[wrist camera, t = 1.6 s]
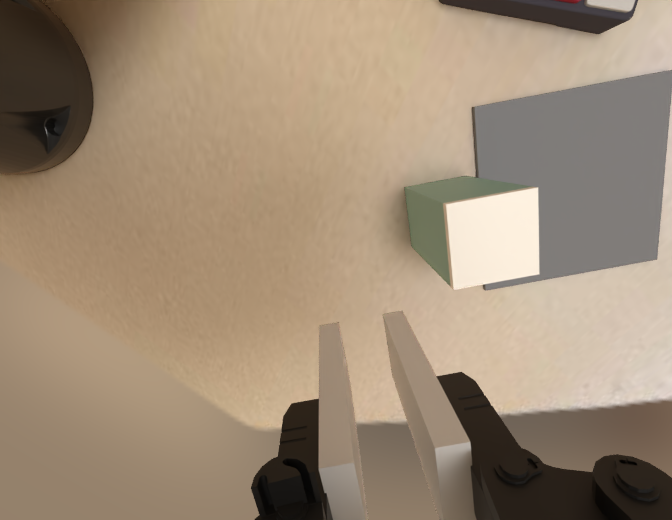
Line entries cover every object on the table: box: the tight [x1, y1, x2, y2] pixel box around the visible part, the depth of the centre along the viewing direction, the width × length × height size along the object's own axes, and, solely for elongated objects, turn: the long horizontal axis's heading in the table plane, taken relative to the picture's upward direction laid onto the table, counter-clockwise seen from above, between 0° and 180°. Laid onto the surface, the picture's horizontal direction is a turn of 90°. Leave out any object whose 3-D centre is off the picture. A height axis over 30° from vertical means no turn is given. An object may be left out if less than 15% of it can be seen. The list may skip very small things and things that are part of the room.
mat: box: [472, 70, 672, 290], centre depth 35 cm, size 18×18×1 cm
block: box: [404, 176, 539, 290], centre depth 30 cm, size 6×6×12 cm
